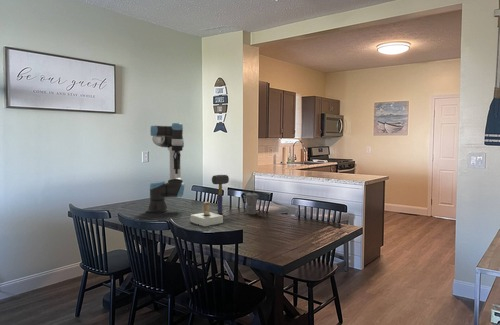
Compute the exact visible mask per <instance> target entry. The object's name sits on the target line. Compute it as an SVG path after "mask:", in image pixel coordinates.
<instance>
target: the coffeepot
mask: <svg viewBox="0 0 500 325" xmlns="http://www.w3.org/2000/svg"><path fill="white" fill-rule="evenodd" d="M240 196H241V200H242V203H243V204H246V209H245V214H246V215H256V214H257V206H256V203H257V200H258V198H259V197H260V195H259V194H258V193H255V192H253V190H250V192H248V193H247V192H242V193H241V195H240ZM244 196H245V198H244ZM245 199H246V200H245ZM245 201H246V202H245Z"/></svg>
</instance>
